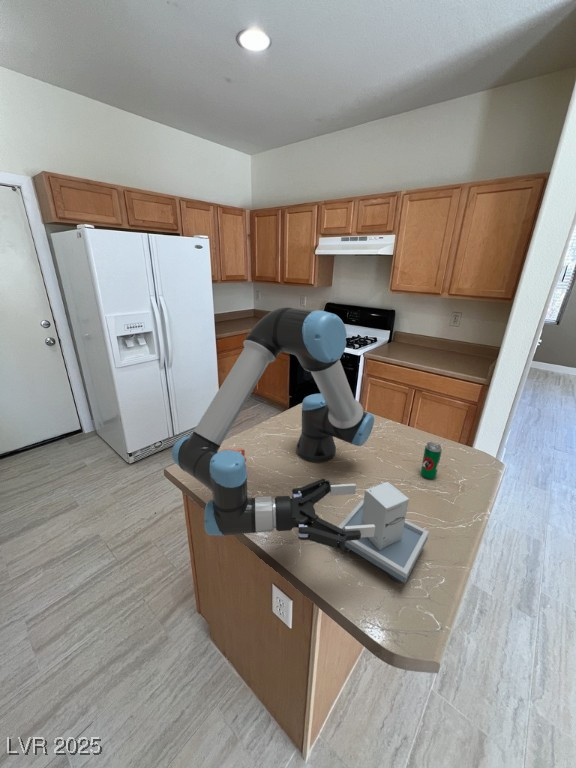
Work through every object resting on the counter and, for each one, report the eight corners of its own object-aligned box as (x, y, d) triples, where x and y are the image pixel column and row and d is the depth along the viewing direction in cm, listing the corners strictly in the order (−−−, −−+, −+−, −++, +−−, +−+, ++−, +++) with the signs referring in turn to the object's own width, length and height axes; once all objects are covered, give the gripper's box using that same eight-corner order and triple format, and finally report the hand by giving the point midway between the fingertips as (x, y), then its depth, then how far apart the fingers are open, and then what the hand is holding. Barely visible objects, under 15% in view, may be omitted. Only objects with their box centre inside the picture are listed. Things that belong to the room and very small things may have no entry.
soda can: (437, 481, 104) (444, 450, 100) (421, 479, 105) (427, 448, 101) (434, 472, 109) (440, 442, 105) (418, 470, 110) (424, 440, 106)
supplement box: (379, 551, 73) (385, 508, 68) (359, 529, 79) (363, 488, 75) (402, 540, 76) (410, 498, 72) (381, 519, 82) (387, 480, 78)
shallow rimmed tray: (333, 548, 79) (334, 530, 77) (361, 514, 90) (362, 498, 88) (403, 592, 68) (406, 574, 66) (425, 548, 79) (428, 531, 77)
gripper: (272, 490, 85) (348, 486, 87) (277, 575, 61) (381, 566, 63) (271, 467, 82) (350, 463, 84) (277, 546, 59) (386, 538, 61)
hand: (364, 507), depth 74 cm, fingers open, 13 cm apart
